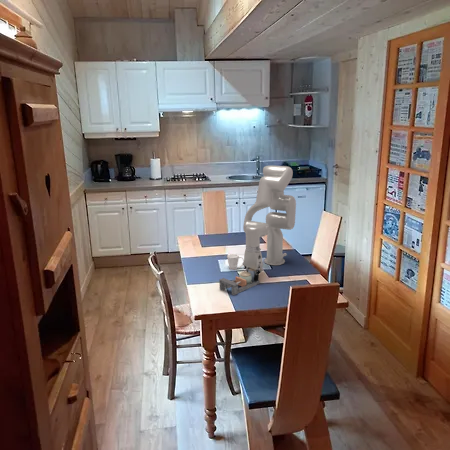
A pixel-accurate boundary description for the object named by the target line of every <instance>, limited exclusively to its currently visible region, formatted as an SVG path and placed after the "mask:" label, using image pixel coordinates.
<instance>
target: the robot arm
mask: <svg viewBox="0 0 450 450" xmlns="http://www.w3.org/2000/svg"><path fill="white" fill-rule="evenodd" d="M293 173H294V172H293V169H292V168H291V167H290V166H287V165H265V166H264V167H263V168H262V175H263V176H261V178H260V179H259V183H258V186H257V187H258V188H257V193H256V198H255V202H254V204H253V205H251V206H250V207H249V208H248V210H247V211H246V214H245V216H244V220H243V232H244V233H245V250H244V256H243V259H244V262H242V263H241V265H242V264H243V268H244V269H245V272H248V269H249V268H252V269H254V271H255V275H254V281H257V280H259V281H260V274H261V273H262V272H263V271H264V268H263V262H264V264H267V265H269V266H281V265H283V264H285V262H286V259H284V257H286V256H288V254H287V253H286V252H284V253H283V250H284V249H283V247H284V246H283V245H284V244H283V243H284V234H283V232H282V230H293V229H294V227H295V223H296V211H297V208H296V207H297V201H296V198H295V196H293V195H290V194H285V191H286V189H287V186H288V185H289V183H290V182H291V180H292V179H293ZM266 208H269V209H270V210H274V211H270V212H268V213H267V214H266V216H265V222H261V221H254V220H252V219H253V217H254V215H255V214H256V213H258V212H259V211H261V210H263V209H266ZM277 211H278V212H277ZM281 211H282V212H281ZM263 237H266V257H265V258H264V261H263V254H262V251H261V250H262V248H260V246H261V244H260V243H261V238H263Z"/></svg>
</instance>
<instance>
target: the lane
mask: <svg viewBox="0 0 450 450" xmlns="http://www.w3.org/2000/svg"><path fill="white" fill-rule="evenodd" d="M259 284H260V279H259V280H257V281H254V282H252V283H250V284H247V285H245V286H243V287H242V286H240V287H239V285H238V283H236V279H234V280H230V279H227V278H225V277H222V278H220V279H219V290H220V291H224V290H226V289H227V288H228V286H231V287H230V288H231V295H232V296H236V295H238V294H239V293H242V292H244V291H246V290H248V289H251V288H253V287H255V286H257V285H259ZM228 289H229V288H228Z"/></svg>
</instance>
